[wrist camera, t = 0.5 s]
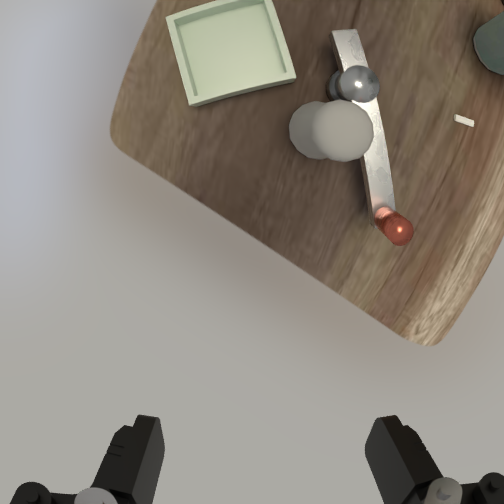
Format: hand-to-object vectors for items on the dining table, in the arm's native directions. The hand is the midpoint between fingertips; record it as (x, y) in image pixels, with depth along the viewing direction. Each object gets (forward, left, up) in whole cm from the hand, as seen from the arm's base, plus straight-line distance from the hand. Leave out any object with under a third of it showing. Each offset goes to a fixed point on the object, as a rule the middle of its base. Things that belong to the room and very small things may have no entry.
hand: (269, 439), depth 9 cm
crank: (-8, +12, -24) cm, 28 cm away
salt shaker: (-9, +7, -26) cm, 29 cm away
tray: (-19, +1, -26) cm, 32 cm away
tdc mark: (-7, +26, -26) cm, 38 cm away
